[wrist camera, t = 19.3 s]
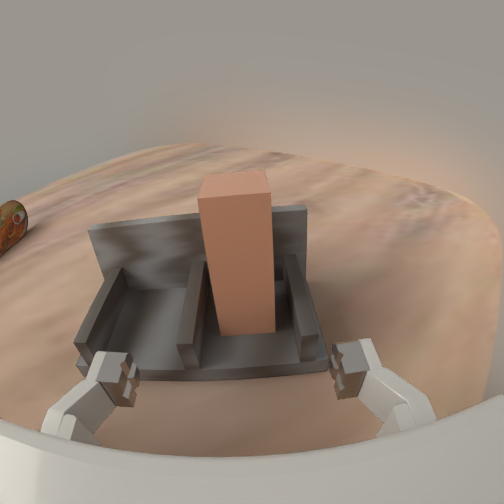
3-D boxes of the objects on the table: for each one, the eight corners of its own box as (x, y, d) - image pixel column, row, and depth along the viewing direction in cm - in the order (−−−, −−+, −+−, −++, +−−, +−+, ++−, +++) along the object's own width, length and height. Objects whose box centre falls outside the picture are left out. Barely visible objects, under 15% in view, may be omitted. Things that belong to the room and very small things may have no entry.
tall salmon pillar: (220, 336, 25) (197, 198, 19) (222, 298, 29) (205, 174, 23) (275, 332, 25) (270, 192, 19) (270, 294, 29) (264, 169, 23)
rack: (83, 375, 23) (36, 298, 18) (117, 293, 33) (93, 223, 28) (326, 370, 23) (340, 280, 18) (302, 281, 33) (304, 203, 28)
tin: (-13, 269, 40) (-30, 228, 36) (-20, 267, 41) (-36, 229, 36) (33, 229, 53) (21, 193, 48) (25, 229, 53) (14, 194, 49)
